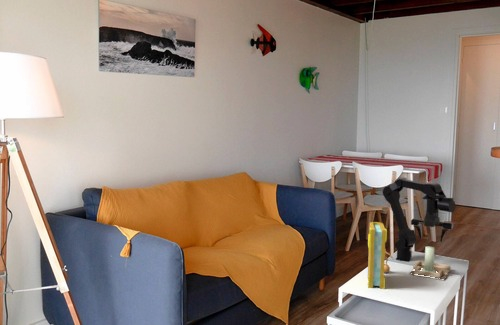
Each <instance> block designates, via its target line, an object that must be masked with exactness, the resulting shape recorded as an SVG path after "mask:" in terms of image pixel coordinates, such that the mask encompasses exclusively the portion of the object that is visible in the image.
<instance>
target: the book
mask: <svg viewBox="0 0 500 325" xmlns="http://www.w3.org/2000/svg"><path fill="white" fill-rule="evenodd" d="M368 228H369V231H368V234H367V247H368V258H367V259H368V261H367V263H368V264H367V288H369V289H374V287H375V286H377V287H379V290H385V286H386V277H385V273H384V264H385V262H386V261H385V260H386V259H385V249H386V242H387V237H388V234H387V233H388V230H387V228H385V225H384V223H383V222H378V221H371V222H369V227H368Z"/></svg>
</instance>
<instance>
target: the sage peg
mask: <svg viewBox="0 0 500 325" xmlns="http://www.w3.org/2000/svg"><path fill="white" fill-rule="evenodd" d="M435 250H436V249H435V247H434V246H429V245H428V246H425V249H424V262H425V265H424V269H422V271H426V272H432V273H436V271H435V270H433V269H434V263H435Z"/></svg>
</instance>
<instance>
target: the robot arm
mask: <svg viewBox="0 0 500 325" xmlns="http://www.w3.org/2000/svg"><path fill="white" fill-rule="evenodd" d="M404 188H406V189H410V190H415V191H419V192H421V193H422V194H424V195H425V196H423V197H422V199H423V200H426V207H425V208H426V210H425V215H424V217H423V220H422V218H419V217H413V218H412V219H411V220H410V225H411V226H413V227H414V228H415V229H417V232H418V236H419V239H420V240H423V226H424V227H431V228H434V227H442V229H441V235H440V243H443V242H442V241H443V239H444V237H445V235H446V233H447V232H449V231H450V230H453V228H454V223H453V221H445V220H444V221H443V222H441V219H440V217H439V214H440V213H439V212H440V211H441V212H446V213H454V212H455V210H456V202H455V201H454V198H453V197H447V195H446V194H445V192H444V191H443V189H442V186H441V184H440V183H435V182H431V183H425V182H418V181H414V180H409V179H406V178H398V179H396V180H395V181H393V182H392V183H390V184H389V185H387V186H385V187H384V188H383V189H382V196H383V197H384V200H385V201H386V202H387V203H389V205H390V207H391V211H392V214H393V217H394V220H395V222H396V225H397V228H398V236H397V238H398V240H397V241H396V242H395V243H394V248H396V258H395V260H396V261H402V262H410V261H411V260H412V255H413V254H412V253H413V251H412V248H414V246H415V244H416V242H417V236H416V233H415V230H414V229H410V227H409V224H408V223H407V220H406V216H405V214H404V211H403V208H402V206H401V203H400V200H401V194H400V193H401V191H403V189H404Z"/></svg>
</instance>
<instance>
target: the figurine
mask: <svg viewBox="0 0 500 325" xmlns="http://www.w3.org/2000/svg"><path fill="white" fill-rule="evenodd" d="M387 255H388V256H390V258H391V259H392V260H394V257H393V256H392V255H391V254H390V253H389V252H387V249H386V248H385V260H386V261H385V263H384V274H387V273H389V272H390V270H391V267H390V266H389V265H388V261H389V259H388V256H387Z"/></svg>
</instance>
